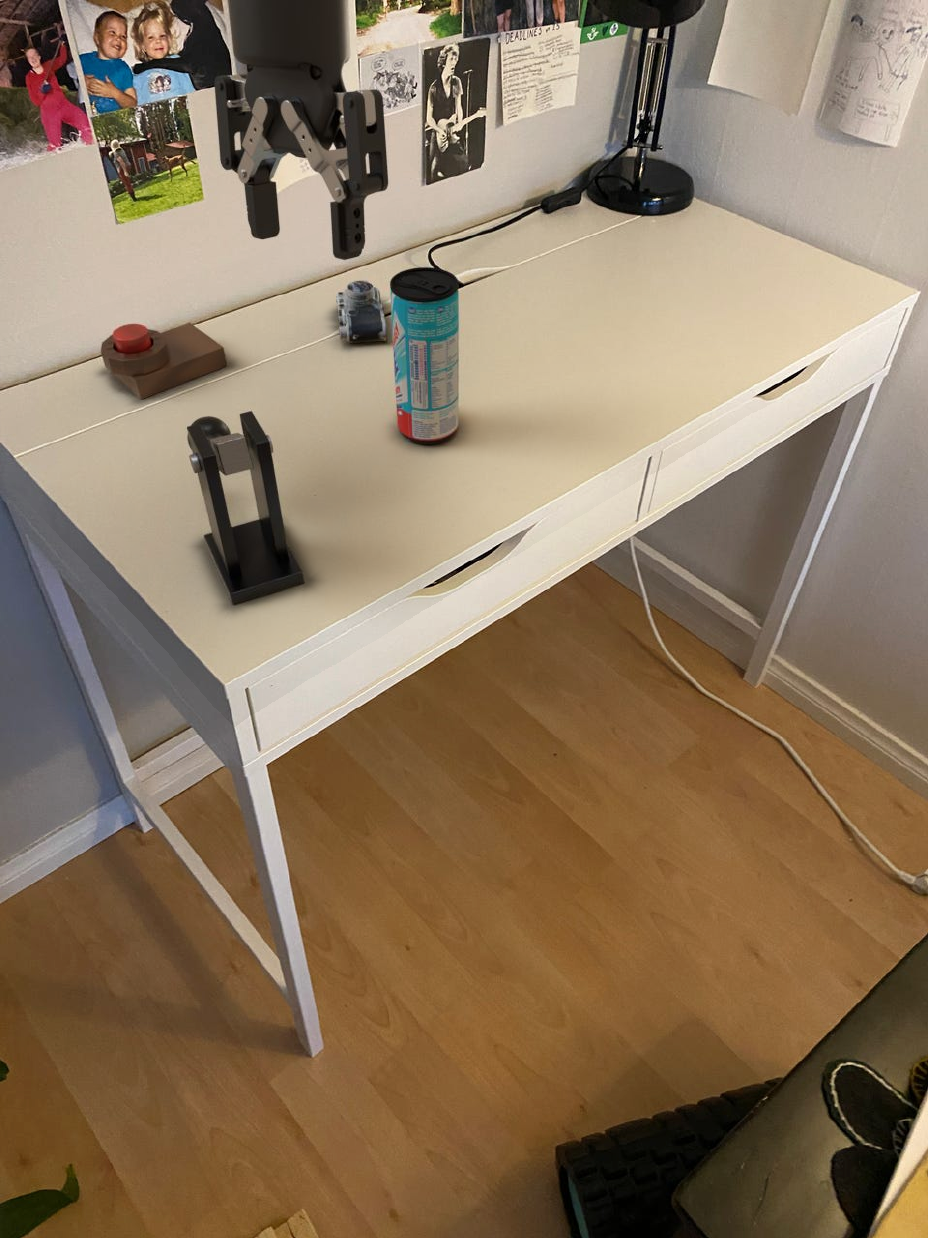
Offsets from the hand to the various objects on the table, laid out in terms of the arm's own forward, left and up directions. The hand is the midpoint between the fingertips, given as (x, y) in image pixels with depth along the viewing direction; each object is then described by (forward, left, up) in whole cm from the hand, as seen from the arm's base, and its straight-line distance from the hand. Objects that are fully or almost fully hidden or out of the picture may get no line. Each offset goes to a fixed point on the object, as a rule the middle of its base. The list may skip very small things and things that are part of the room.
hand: (306, 246), depth 69 cm
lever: (-9, -1, -16) cm, 18 cm away
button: (-11, +27, -19) cm, 35 cm away
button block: (-8, +28, -23) cm, 37 cm away
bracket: (-9, -5, -23) cm, 25 cm away
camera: (+14, +28, -23) cm, 39 cm away
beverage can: (+12, +6, -23) cm, 27 cm away
